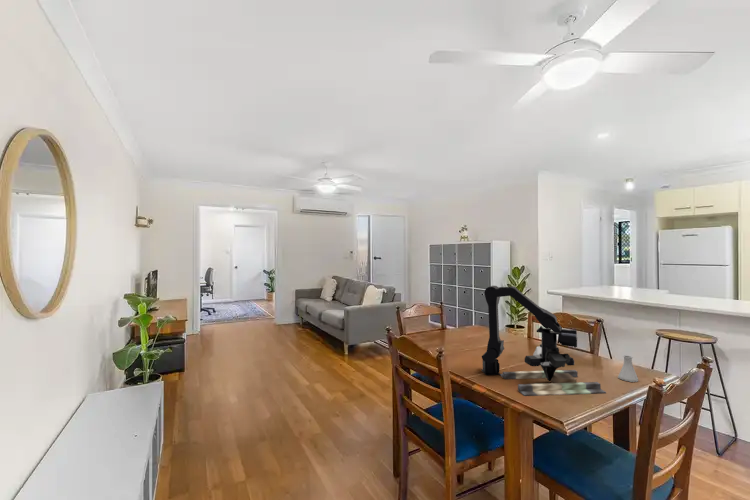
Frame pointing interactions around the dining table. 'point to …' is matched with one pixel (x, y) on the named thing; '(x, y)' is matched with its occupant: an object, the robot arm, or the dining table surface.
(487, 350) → the robot arm
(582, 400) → the dining table surface
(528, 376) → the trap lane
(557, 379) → the walnut block
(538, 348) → the die
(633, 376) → the flask
